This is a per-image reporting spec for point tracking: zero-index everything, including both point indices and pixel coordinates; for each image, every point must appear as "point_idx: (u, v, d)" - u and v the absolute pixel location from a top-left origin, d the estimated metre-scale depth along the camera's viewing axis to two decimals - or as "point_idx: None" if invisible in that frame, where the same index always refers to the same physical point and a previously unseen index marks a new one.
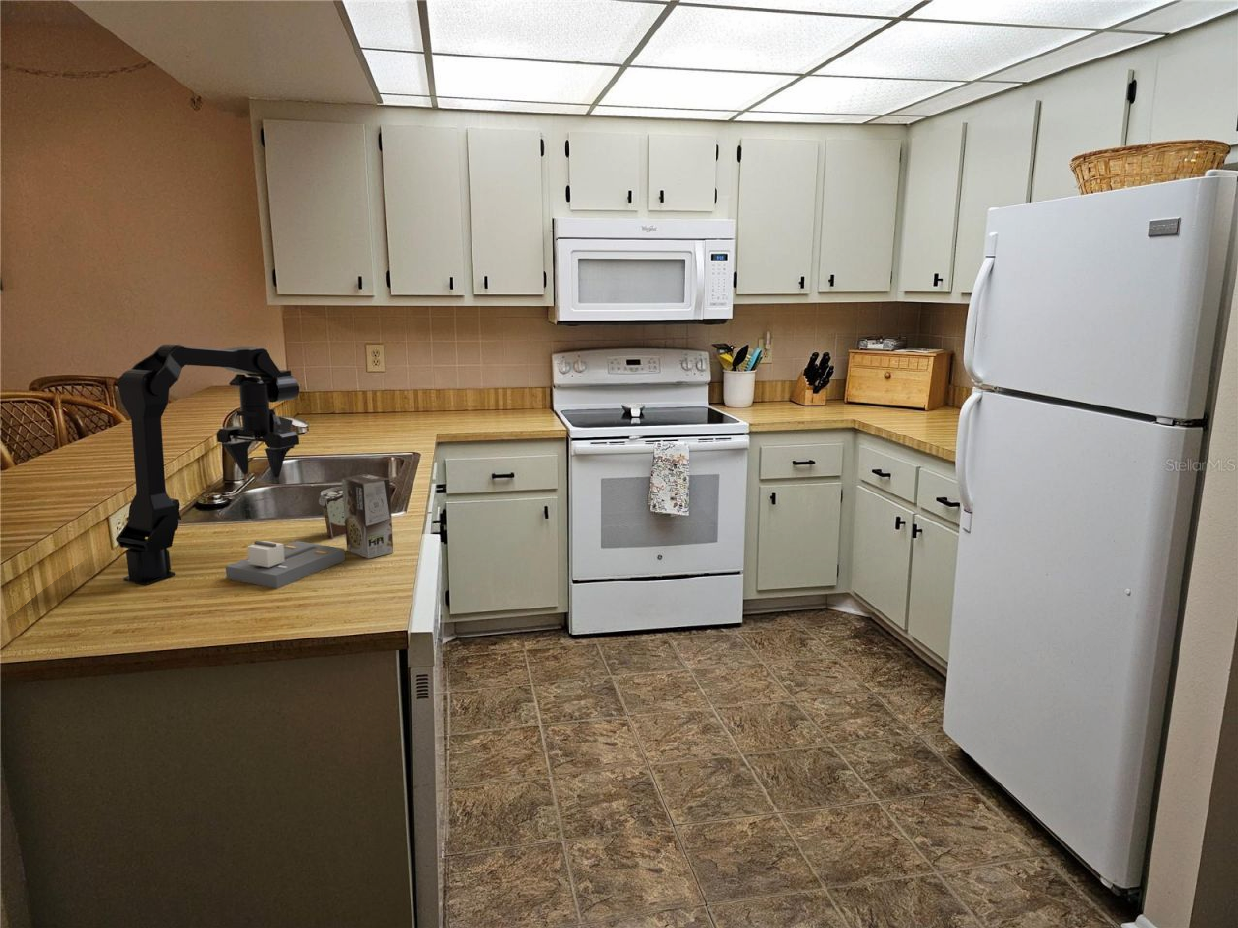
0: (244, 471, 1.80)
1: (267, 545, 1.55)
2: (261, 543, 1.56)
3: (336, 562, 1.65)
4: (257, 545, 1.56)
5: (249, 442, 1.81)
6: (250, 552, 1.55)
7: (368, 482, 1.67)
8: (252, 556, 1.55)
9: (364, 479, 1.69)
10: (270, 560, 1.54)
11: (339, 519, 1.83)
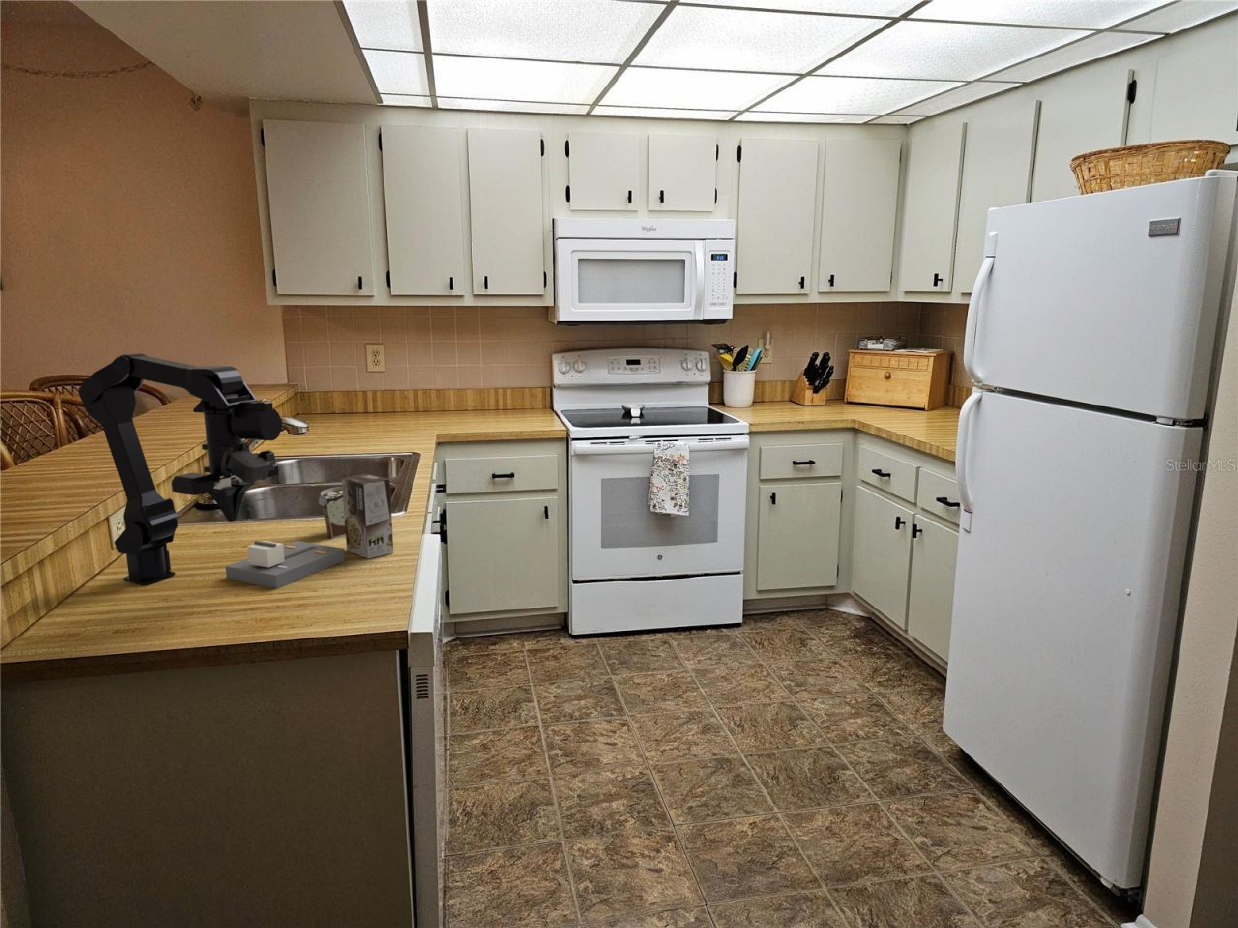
0: None
1: (267, 545, 1.55)
2: (261, 543, 1.56)
3: (336, 562, 1.65)
4: (257, 545, 1.56)
5: (240, 486, 1.47)
6: (250, 552, 1.55)
7: (368, 482, 1.67)
8: (252, 556, 1.55)
9: (364, 479, 1.69)
10: (270, 560, 1.54)
11: (339, 519, 1.83)
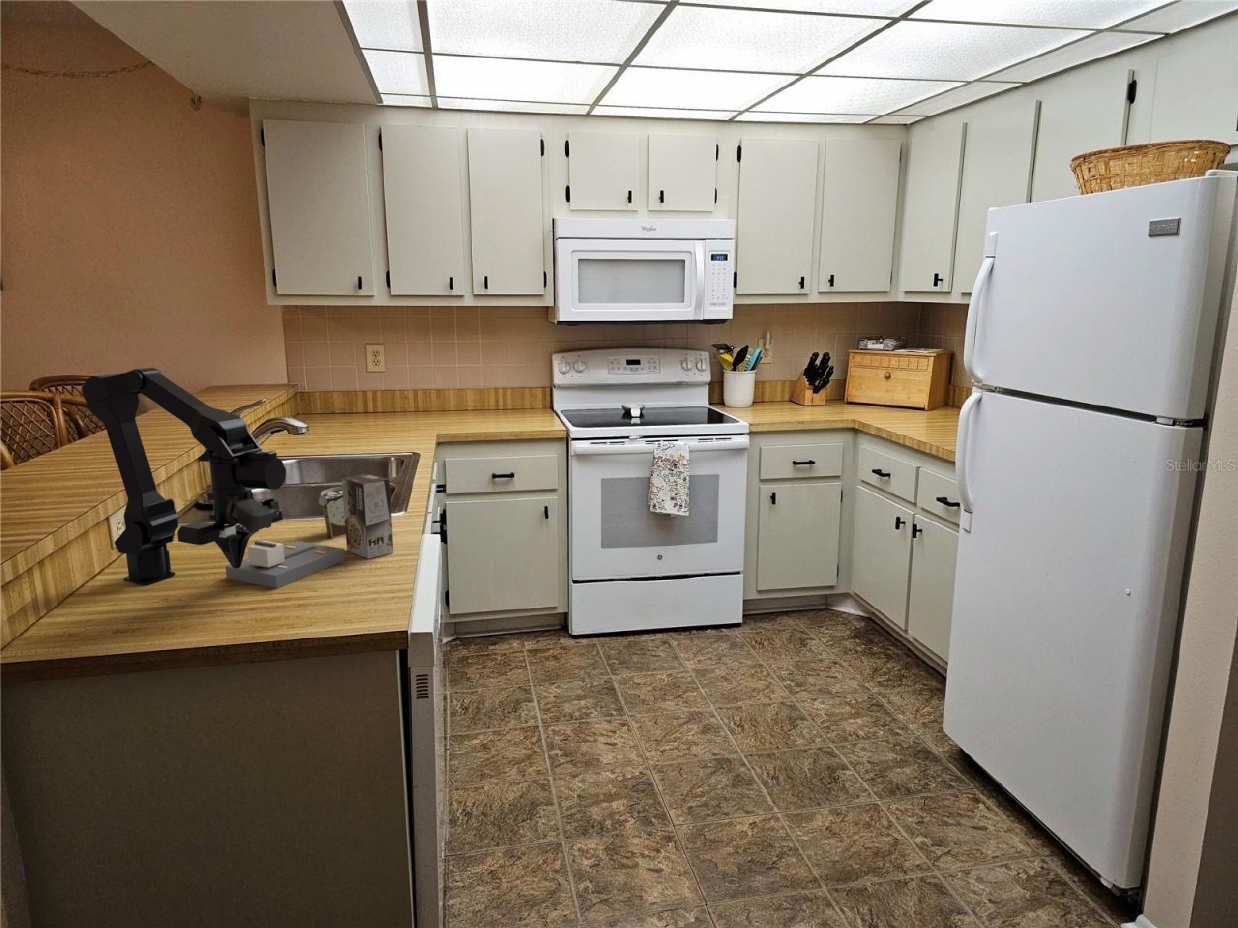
0: None
1: (267, 545, 1.55)
2: (261, 543, 1.56)
3: (336, 562, 1.65)
4: (257, 545, 1.56)
5: (245, 533, 1.48)
6: (250, 552, 1.55)
7: (368, 482, 1.67)
8: (252, 556, 1.55)
9: (364, 479, 1.69)
10: (270, 560, 1.54)
11: (339, 519, 1.83)
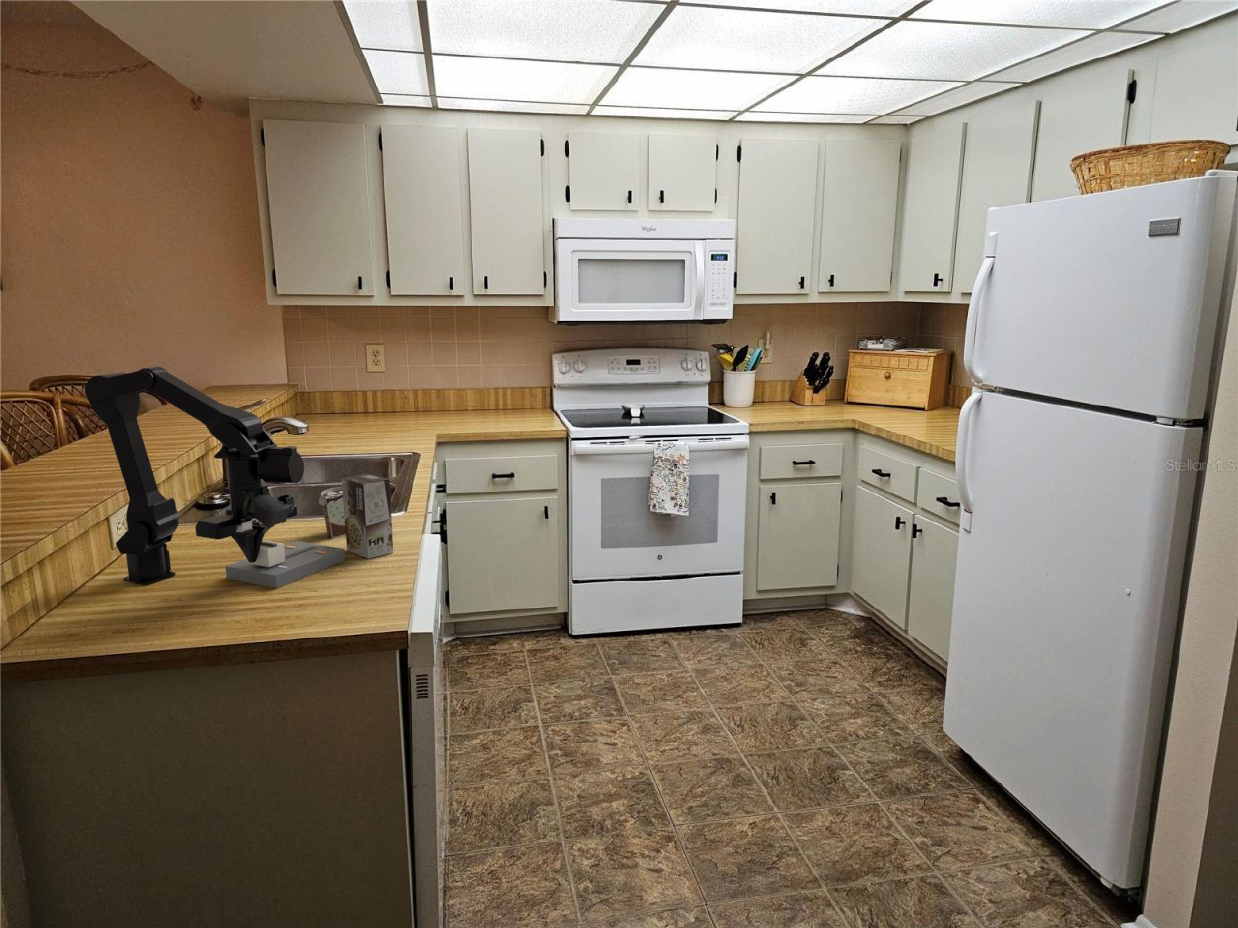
0: None
1: (268, 545, 1.55)
2: (262, 543, 1.56)
3: (336, 562, 1.65)
4: None
5: (261, 528, 1.52)
6: None
7: (368, 482, 1.67)
8: None
9: (364, 479, 1.69)
10: (270, 560, 1.54)
11: (339, 519, 1.83)
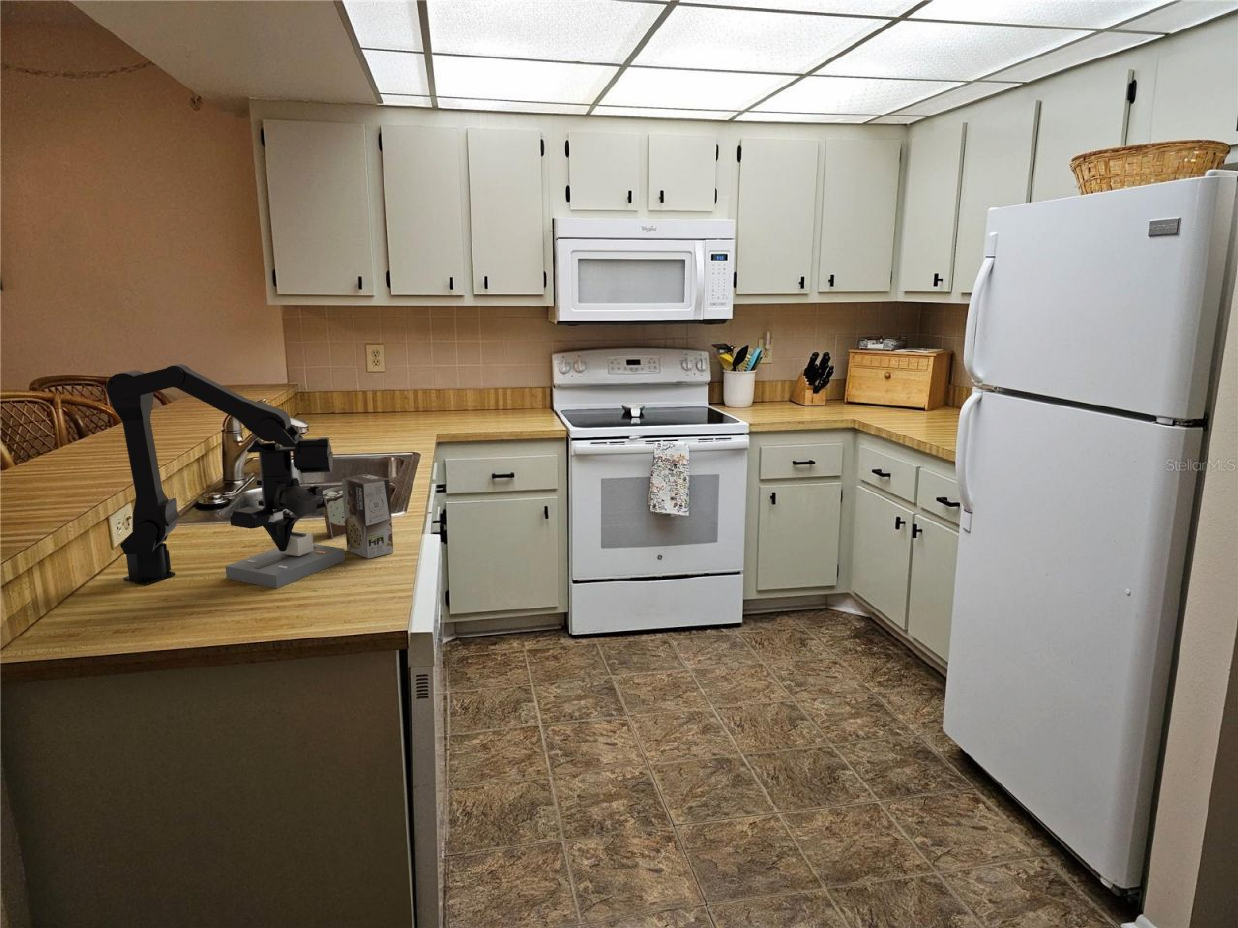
0: None
1: (297, 535, 1.62)
2: (291, 533, 1.63)
3: (336, 562, 1.65)
4: None
5: (291, 518, 1.58)
6: None
7: (368, 482, 1.67)
8: None
9: (364, 479, 1.69)
10: (300, 549, 1.61)
11: (339, 519, 1.83)
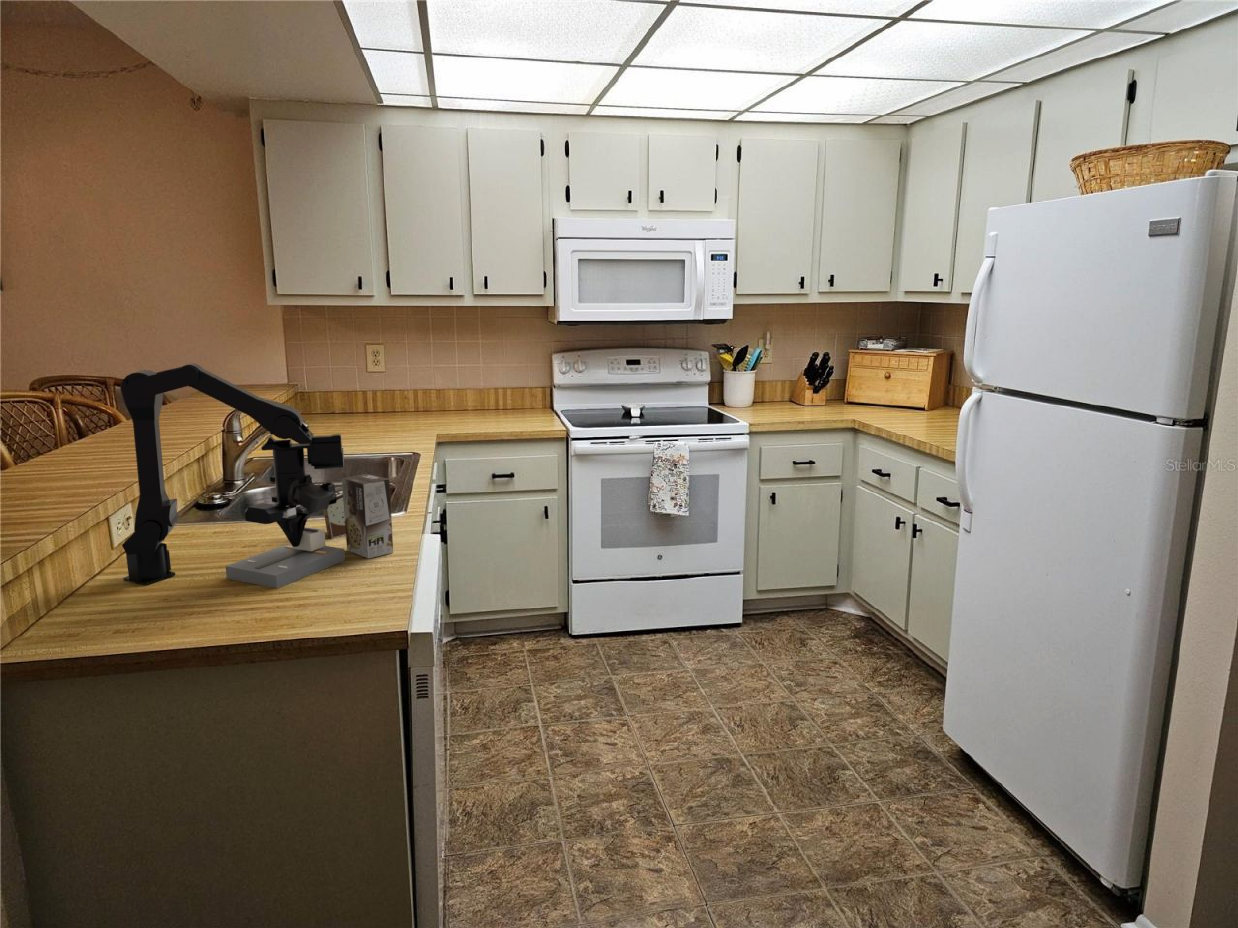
0: None
1: (309, 530, 1.65)
2: (304, 529, 1.66)
3: (336, 562, 1.65)
4: None
5: (304, 514, 1.61)
6: None
7: (368, 482, 1.67)
8: None
9: (364, 479, 1.69)
10: (312, 545, 1.64)
11: (339, 519, 1.83)
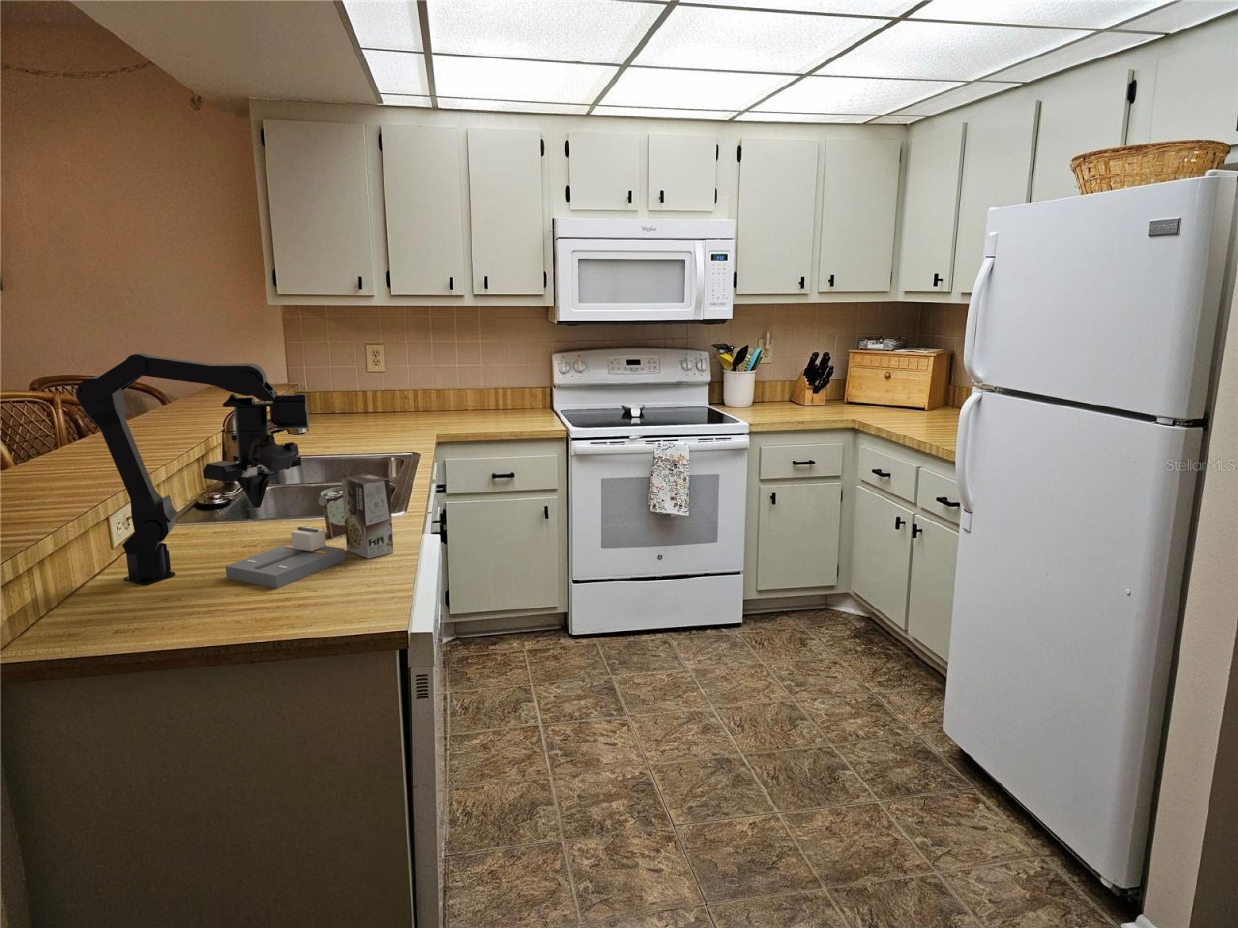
0: None
1: (310, 530, 1.65)
2: (304, 529, 1.66)
3: (336, 562, 1.65)
4: (300, 530, 1.65)
5: (266, 475, 1.58)
6: (293, 537, 1.65)
7: (368, 482, 1.67)
8: (296, 540, 1.65)
9: (364, 479, 1.69)
10: (312, 544, 1.64)
11: (339, 519, 1.83)
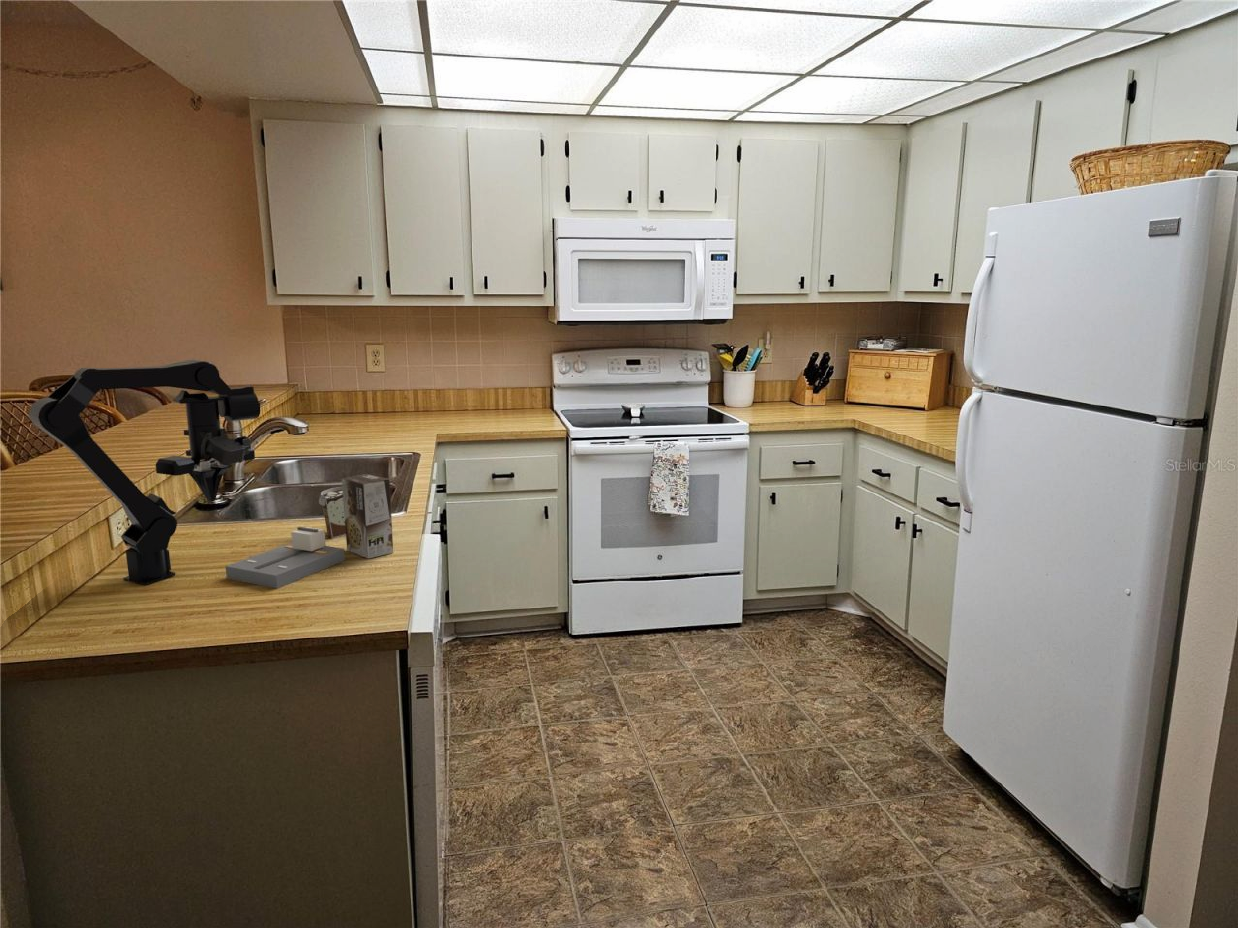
0: None
1: (310, 530, 1.65)
2: (304, 529, 1.66)
3: (336, 562, 1.65)
4: (300, 530, 1.65)
5: (219, 469, 1.61)
6: (293, 537, 1.65)
7: (368, 482, 1.67)
8: (296, 540, 1.65)
9: (364, 479, 1.69)
10: (312, 544, 1.64)
11: (339, 519, 1.83)
